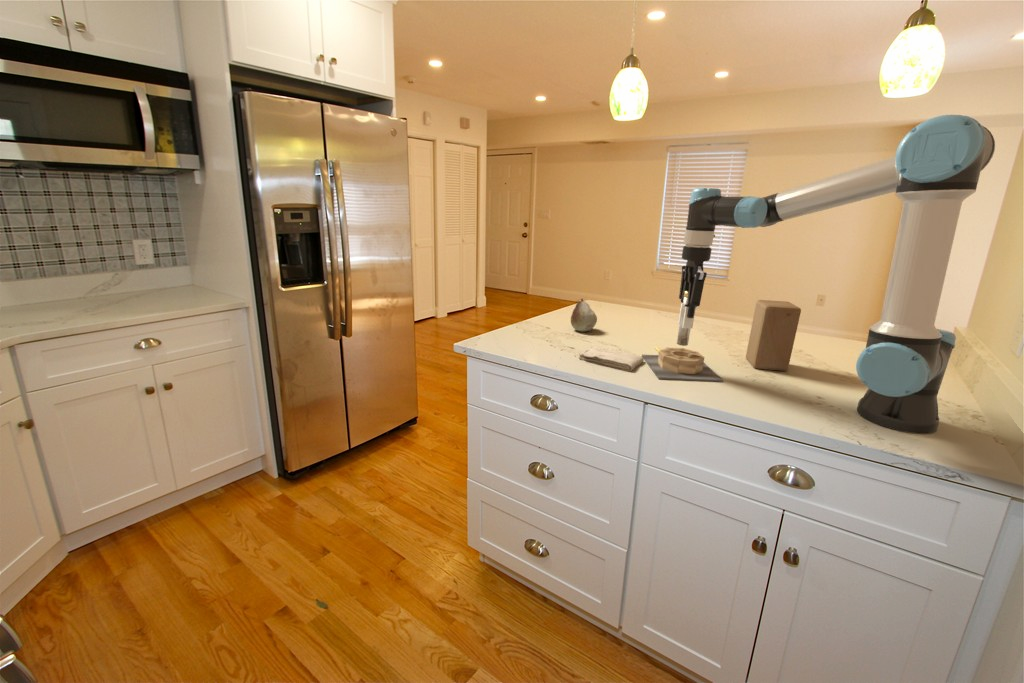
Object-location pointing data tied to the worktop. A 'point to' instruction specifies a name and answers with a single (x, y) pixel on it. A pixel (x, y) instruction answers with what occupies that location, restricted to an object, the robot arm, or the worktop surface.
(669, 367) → the wooden ring socket base
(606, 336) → the worktop surface
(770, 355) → the wooden block
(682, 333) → the brass-banded steel rod
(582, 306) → the fruit
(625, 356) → the washcloth
